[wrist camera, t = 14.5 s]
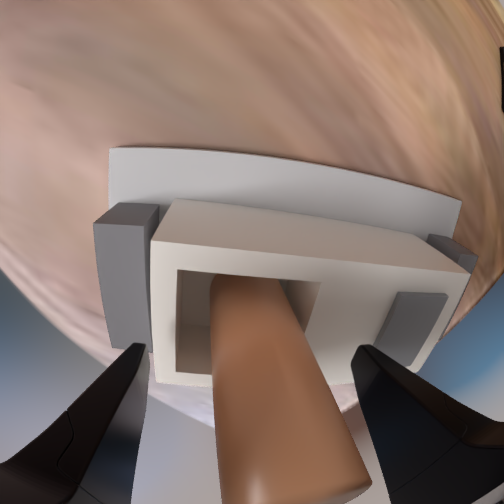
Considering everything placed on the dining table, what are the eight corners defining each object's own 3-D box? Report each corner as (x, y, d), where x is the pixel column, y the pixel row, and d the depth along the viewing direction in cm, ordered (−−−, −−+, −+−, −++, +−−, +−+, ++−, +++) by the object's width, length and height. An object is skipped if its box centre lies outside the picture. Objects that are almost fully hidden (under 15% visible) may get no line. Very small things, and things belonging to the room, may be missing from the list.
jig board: (452, 197, 15) (494, 216, 11) (403, 332, 19) (428, 366, 15) (116, 146, 11) (80, 154, 8) (127, 332, 16) (112, 379, 12)
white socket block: (413, 234, 14) (474, 277, 9) (379, 319, 16) (420, 375, 12) (174, 198, 12) (148, 244, 7) (169, 310, 14) (155, 387, 9)
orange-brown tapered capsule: (283, 260, 12) (397, 462, 3) (275, 320, 13) (343, 508, 4) (209, 259, 11) (223, 499, 3) (209, 321, 12) (224, 528, 4)
